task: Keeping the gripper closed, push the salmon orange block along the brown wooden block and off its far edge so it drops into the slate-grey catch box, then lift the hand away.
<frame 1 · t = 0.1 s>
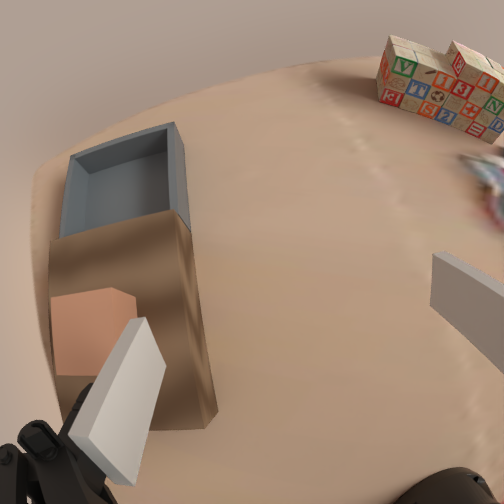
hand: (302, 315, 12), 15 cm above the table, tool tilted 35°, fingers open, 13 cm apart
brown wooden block: (137, 329, 27), on the table
salmon orange block: (108, 336, 21), point 6 cm above the table, touching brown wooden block
stack of blocks: (437, 110, 34), on the table
catch box: (130, 198, 32), on the table
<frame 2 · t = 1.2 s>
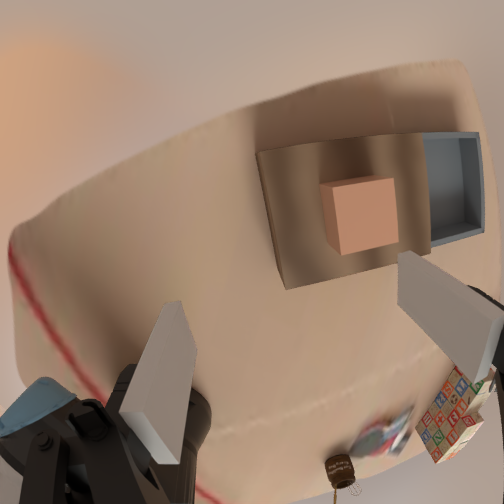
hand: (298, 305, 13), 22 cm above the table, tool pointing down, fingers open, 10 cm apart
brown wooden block: (340, 199, 34), on the table
utensil holder: (336, 460, 51), on the table
salmon orange block: (351, 208, 28), point 6 cm above the table, touching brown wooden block
stack of blocks: (445, 393, 47), on the table
catch box: (436, 183, 33), on the table
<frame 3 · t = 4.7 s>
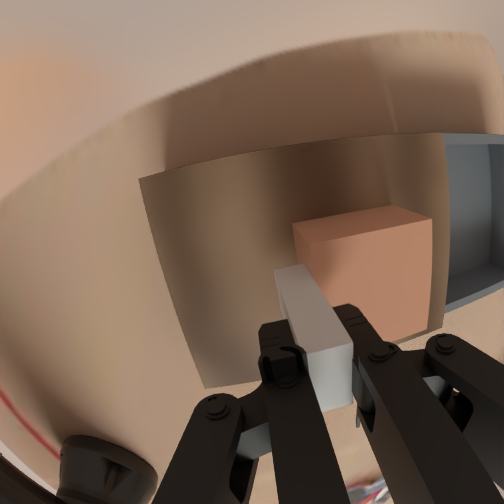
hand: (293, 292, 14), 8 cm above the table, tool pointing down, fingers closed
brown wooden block: (304, 241, 22), on the table
salmon orange block: (350, 264, 16), point 6 cm above the table, touching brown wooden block
catch box: (455, 210, 22), on the table
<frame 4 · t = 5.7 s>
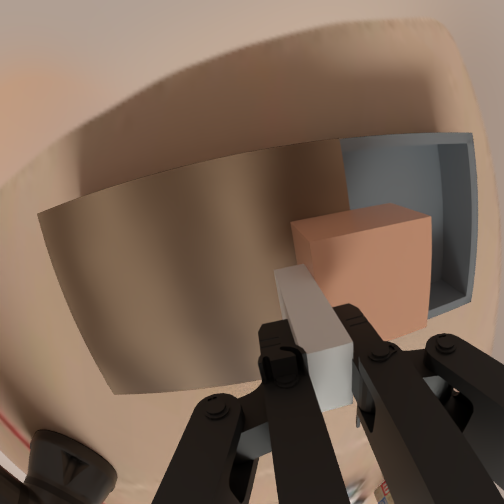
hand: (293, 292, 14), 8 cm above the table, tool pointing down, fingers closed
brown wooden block: (208, 260, 22), on the table
salmon orange block: (348, 262, 16), point 6 cm above the table, touching gripper
catch box: (392, 222, 22), on the table
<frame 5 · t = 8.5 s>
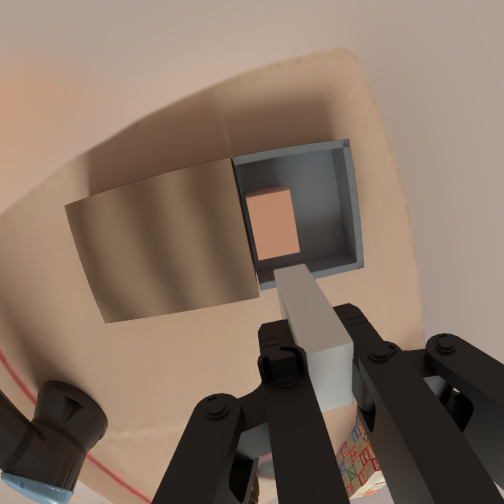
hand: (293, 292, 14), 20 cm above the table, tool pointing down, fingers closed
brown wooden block: (168, 235, 33), on the table
utensil holder: (244, 478, 51), on the table
salmon orange block: (251, 223, 30), point 4 cm above the table, tilted 90°, touching catch box
stack of blocks: (366, 426, 47), on the table
catch box: (295, 208, 33), on the table
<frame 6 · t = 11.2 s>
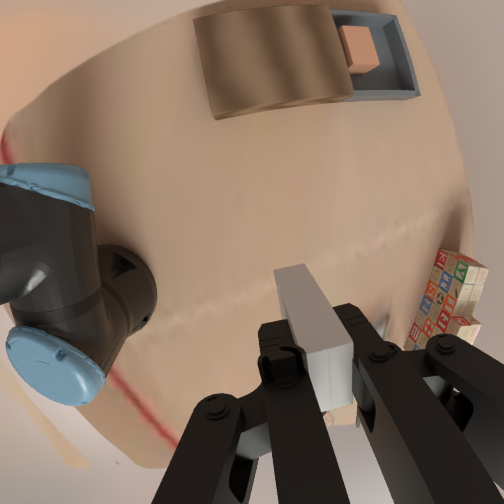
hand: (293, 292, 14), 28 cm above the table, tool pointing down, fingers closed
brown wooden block: (269, 64, 35), on the table
salmon orange block: (340, 51, 31), point 4 cm above the table, tilted 90°, touching catch box
stack of blocks: (431, 301, 49), on the table
catch box: (364, 59, 35), on the table
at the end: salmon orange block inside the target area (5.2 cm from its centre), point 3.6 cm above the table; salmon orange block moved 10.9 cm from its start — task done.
